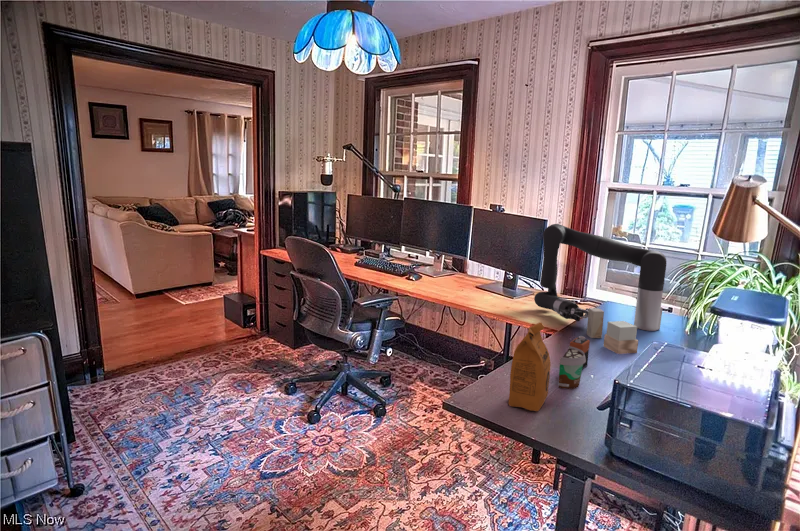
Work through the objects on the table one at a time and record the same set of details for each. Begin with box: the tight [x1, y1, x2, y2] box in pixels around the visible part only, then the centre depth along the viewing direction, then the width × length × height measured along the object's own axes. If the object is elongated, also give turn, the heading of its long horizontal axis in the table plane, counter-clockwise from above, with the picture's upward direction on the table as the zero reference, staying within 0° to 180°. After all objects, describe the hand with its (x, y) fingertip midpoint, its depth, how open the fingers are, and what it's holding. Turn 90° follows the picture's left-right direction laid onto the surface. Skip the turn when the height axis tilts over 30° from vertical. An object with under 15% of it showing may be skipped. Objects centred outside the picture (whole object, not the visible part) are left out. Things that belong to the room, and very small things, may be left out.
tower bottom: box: [603, 333, 639, 355], centre depth 168 cm, size 8×8×5 cm
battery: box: [569, 335, 590, 370], centre depth 150 cm, size 4×7×10 cm, turn 139°
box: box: [586, 307, 605, 339], centre depth 182 cm, size 5×4×11 cm
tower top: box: [605, 320, 638, 341], centre depth 167 cm, size 7×7×5 cm
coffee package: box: [507, 322, 552, 412], centre depth 123 cm, size 10×12×22 cm
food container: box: [557, 345, 586, 390], centre depth 136 cm, size 12×6×10 cm, turn 148°
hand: (588, 318), depth 186 cm, fingers open, 8 cm apart
